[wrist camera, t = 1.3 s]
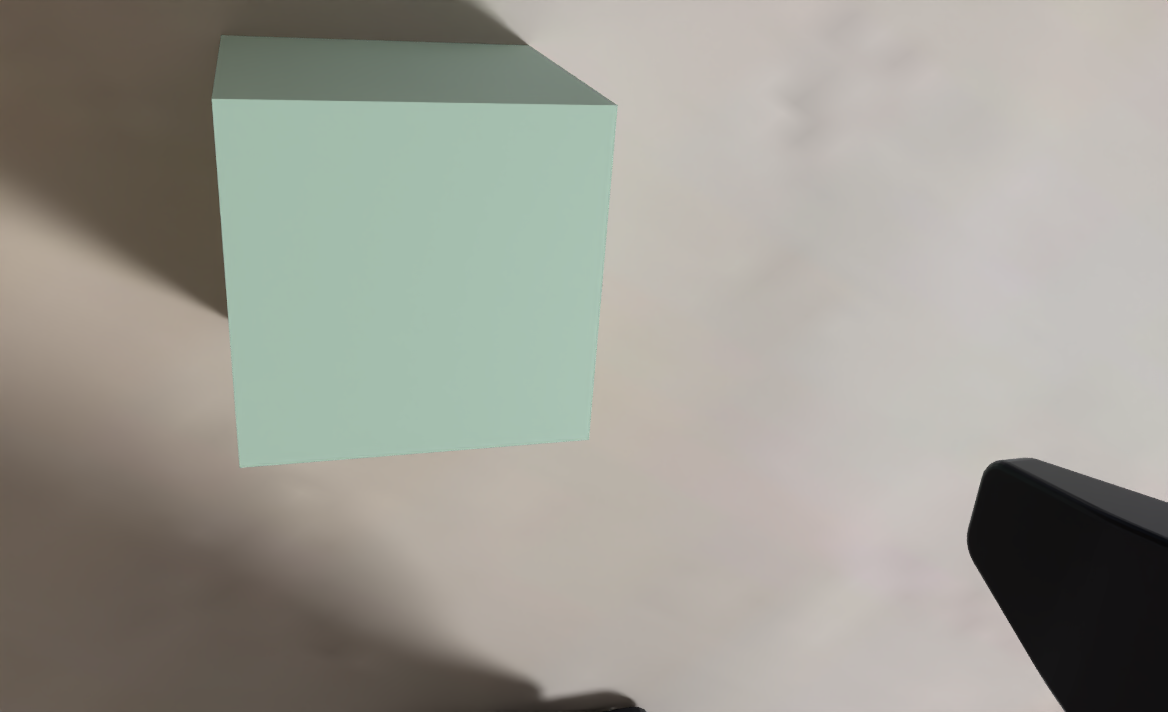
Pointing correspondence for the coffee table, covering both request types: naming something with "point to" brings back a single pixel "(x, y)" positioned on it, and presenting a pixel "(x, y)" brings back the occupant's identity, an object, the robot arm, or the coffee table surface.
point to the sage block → (408, 245)
